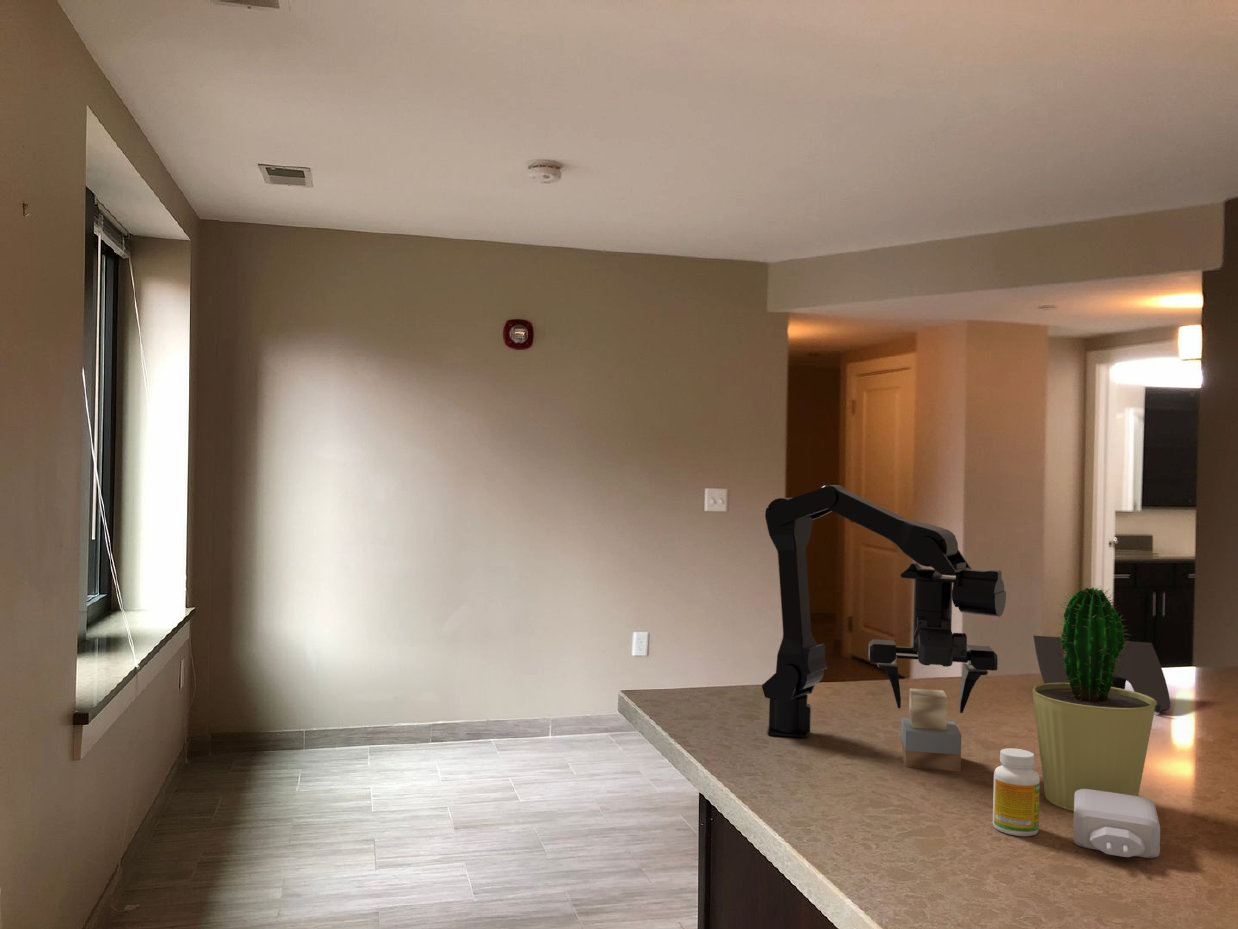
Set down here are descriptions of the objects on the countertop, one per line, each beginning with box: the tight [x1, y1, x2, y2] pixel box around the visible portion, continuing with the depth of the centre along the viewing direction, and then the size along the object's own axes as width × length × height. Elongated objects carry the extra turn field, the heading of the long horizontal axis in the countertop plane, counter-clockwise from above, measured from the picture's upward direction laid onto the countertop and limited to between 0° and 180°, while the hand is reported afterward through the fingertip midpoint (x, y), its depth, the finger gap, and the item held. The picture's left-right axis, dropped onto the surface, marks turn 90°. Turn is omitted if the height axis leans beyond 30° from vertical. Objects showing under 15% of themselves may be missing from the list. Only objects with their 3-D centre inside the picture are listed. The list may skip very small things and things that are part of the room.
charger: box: [1072, 789, 1161, 859], centre depth 121 cm, size 5×9×15 cm
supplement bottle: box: [992, 747, 1041, 837], centre depth 127 cm, size 5×5×10 cm
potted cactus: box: [1031, 583, 1157, 812], centre depth 138 cm, size 15×15×30 cm
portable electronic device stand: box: [1033, 635, 1171, 717], centre depth 201 cm, size 23×23×9 cm
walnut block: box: [901, 740, 962, 772], centre depth 155 cm, size 8×8×3 cm
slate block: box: [900, 717, 962, 756], centre depth 155 cm, size 8×8×3 cm
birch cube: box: [908, 688, 948, 730], centre depth 156 cm, size 5×5×5 cm
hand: (929, 710), depth 156 cm, fingers open, 9 cm apart
